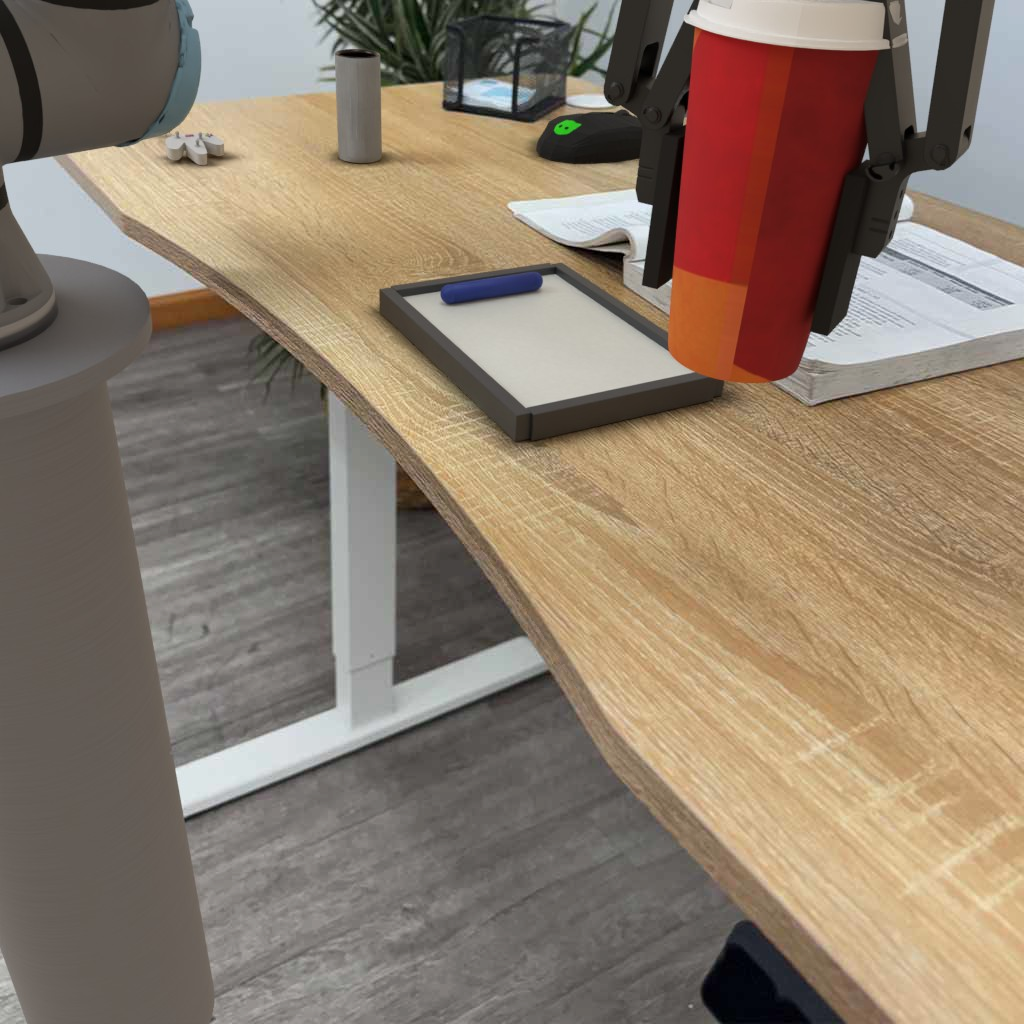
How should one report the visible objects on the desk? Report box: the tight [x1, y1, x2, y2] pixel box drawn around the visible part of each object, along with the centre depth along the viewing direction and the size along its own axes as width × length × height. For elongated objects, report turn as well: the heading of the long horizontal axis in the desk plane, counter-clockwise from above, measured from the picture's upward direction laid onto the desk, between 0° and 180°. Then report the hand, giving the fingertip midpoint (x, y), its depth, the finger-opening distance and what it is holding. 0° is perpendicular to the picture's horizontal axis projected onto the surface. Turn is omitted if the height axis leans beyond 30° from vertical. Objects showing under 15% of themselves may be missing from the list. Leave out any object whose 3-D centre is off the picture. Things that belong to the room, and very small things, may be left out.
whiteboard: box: [378, 262, 725, 443], centre depth 73 cm, size 22×16×3 cm
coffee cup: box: [667, 0, 909, 384], centre depth 44 cm, size 8×8×15 cm
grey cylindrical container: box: [334, 48, 383, 164], centre depth 109 cm, size 4×4×10 cm
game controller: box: [164, 130, 225, 166], centre depth 109 cm, size 6×12×3 cm, turn 50°
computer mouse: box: [535, 108, 642, 165], centre depth 119 cm, size 11×16×4 cm
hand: (742, 299), depth 46 cm, fingers closed on coffee cup, 7 cm apart
